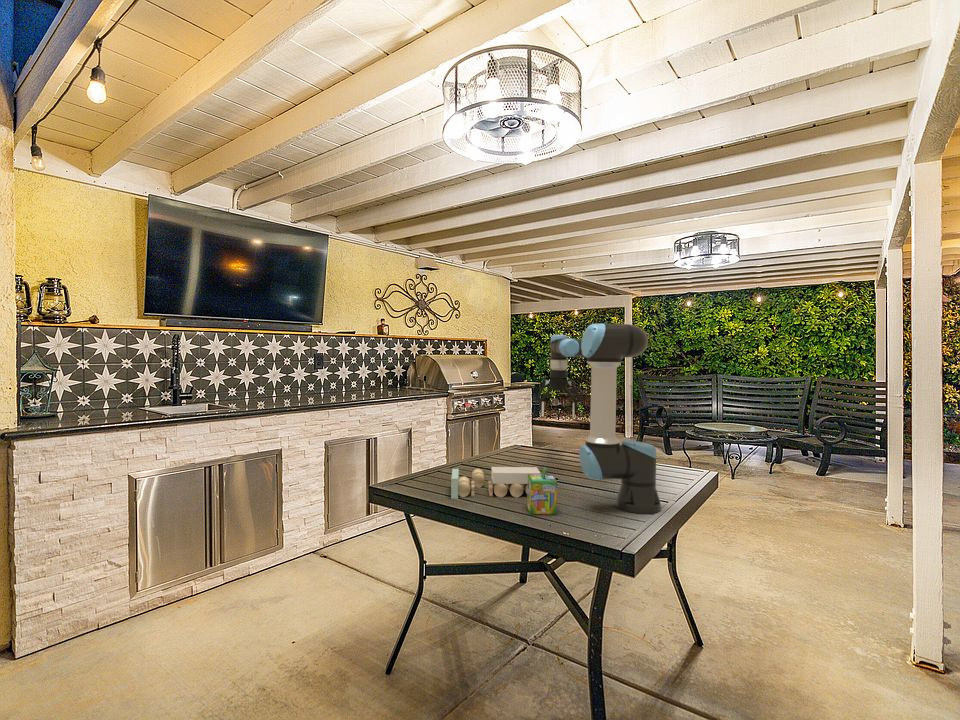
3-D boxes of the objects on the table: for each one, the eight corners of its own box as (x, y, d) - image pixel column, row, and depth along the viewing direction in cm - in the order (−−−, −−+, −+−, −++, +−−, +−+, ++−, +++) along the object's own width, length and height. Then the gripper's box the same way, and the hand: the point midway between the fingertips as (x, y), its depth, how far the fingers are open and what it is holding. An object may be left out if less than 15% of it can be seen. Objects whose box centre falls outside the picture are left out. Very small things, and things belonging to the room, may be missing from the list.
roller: (484, 487, 198) (484, 475, 198) (472, 487, 198) (472, 475, 198) (483, 480, 209) (483, 468, 209) (471, 480, 209) (472, 468, 209)
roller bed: (539, 497, 184) (539, 484, 184) (456, 496, 183) (456, 483, 183) (534, 489, 195) (535, 476, 195) (457, 488, 194) (457, 476, 194)
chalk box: (526, 506, 173) (527, 464, 173) (552, 506, 174) (552, 464, 173) (529, 515, 164) (530, 470, 164) (557, 515, 164) (557, 471, 164)
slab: (540, 483, 185) (540, 473, 185) (492, 483, 184) (492, 472, 184) (536, 477, 195) (536, 467, 195) (491, 476, 194) (491, 466, 194)
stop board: (457, 498, 181) (458, 478, 181) (451, 498, 181) (451, 478, 181) (458, 487, 197) (458, 468, 197) (452, 487, 197) (452, 468, 197)
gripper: (587, 369, 220) (586, 417, 220) (532, 368, 226) (531, 414, 226) (587, 370, 213) (586, 419, 213) (529, 369, 218) (529, 416, 219)
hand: (557, 416), depth 219 cm, fingers open, 13 cm apart
